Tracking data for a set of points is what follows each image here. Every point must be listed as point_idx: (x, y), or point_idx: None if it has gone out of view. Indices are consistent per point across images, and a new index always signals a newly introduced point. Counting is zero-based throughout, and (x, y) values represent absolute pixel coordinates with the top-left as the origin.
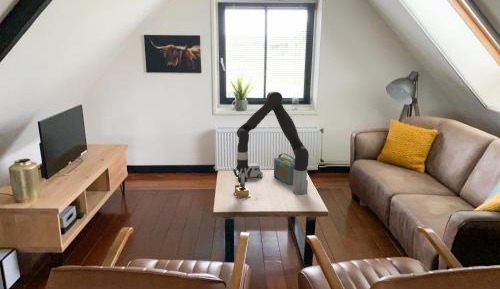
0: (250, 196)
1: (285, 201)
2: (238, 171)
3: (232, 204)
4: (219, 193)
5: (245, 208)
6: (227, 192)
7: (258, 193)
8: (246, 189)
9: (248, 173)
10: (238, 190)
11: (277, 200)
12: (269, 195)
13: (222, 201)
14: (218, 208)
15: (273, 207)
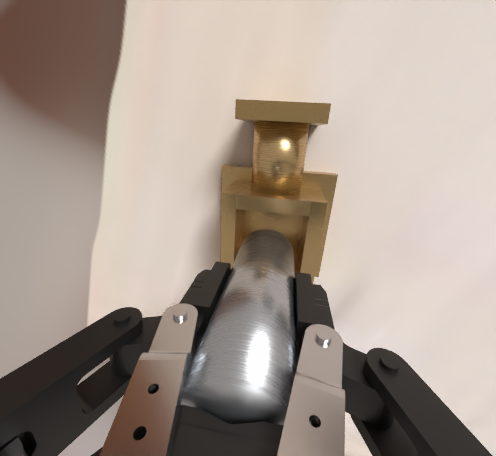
0: (315, 275)
1: (485, 414)
2: (126, 404)
3: None
4: (113, 98)
5: None
6: (181, 99)
7: (421, 230)
8: (300, 267)
9: (376, 450)
10: (221, 259)
11: (451, 384)
12: (472, 301)
13: (117, 255)
14: (89, 324)
15: (356, 431)
